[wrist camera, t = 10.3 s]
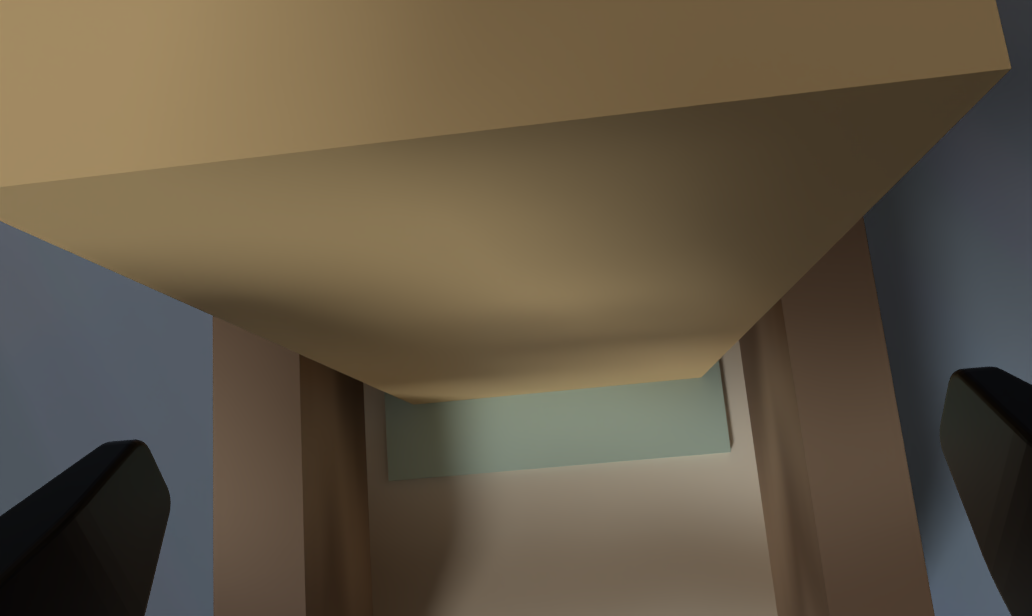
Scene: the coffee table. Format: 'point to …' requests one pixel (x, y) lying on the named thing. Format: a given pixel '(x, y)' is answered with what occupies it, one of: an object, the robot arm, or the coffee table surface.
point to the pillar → (476, 166)
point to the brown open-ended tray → (579, 482)
